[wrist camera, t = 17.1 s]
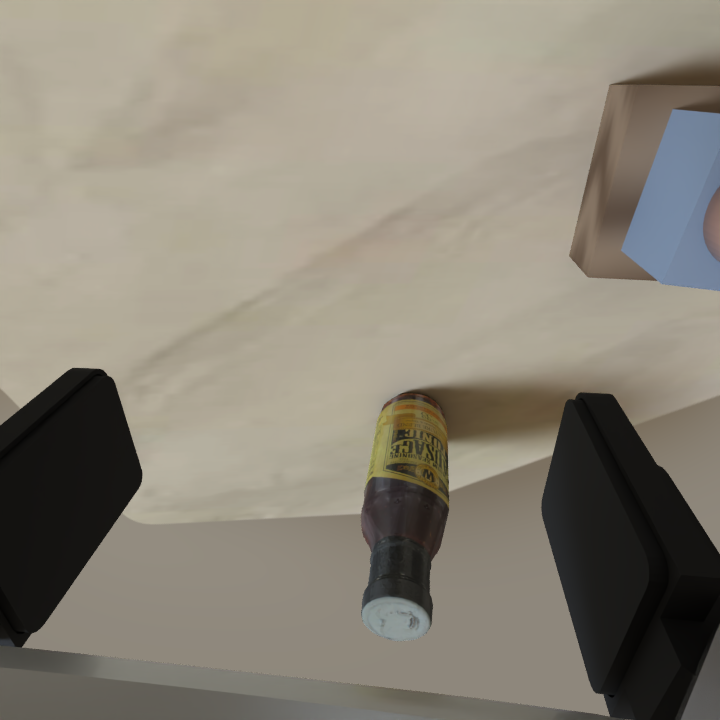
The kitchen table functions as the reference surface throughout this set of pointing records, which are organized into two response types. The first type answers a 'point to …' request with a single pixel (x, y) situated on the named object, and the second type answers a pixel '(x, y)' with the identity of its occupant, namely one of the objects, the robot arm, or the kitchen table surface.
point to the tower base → (626, 171)
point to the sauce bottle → (404, 515)
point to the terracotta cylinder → (713, 226)
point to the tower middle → (679, 204)
